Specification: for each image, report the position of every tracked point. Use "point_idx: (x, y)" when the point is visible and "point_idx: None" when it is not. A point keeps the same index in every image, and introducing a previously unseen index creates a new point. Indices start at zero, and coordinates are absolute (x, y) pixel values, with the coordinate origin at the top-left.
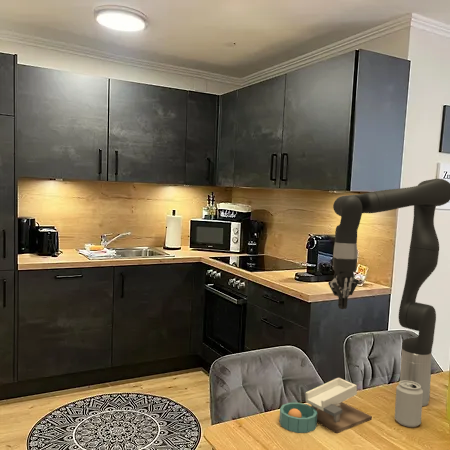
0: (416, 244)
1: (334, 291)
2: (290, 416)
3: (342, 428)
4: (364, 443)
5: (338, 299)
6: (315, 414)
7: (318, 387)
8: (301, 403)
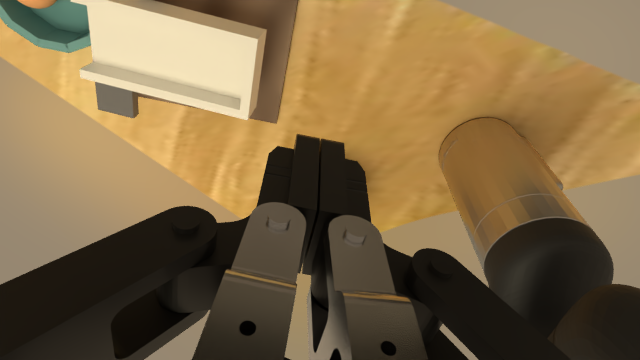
0: None
1: (122, 268)
2: None
3: (153, 98)
4: (156, 153)
5: (260, 194)
6: (80, 46)
7: (136, 13)
8: None
